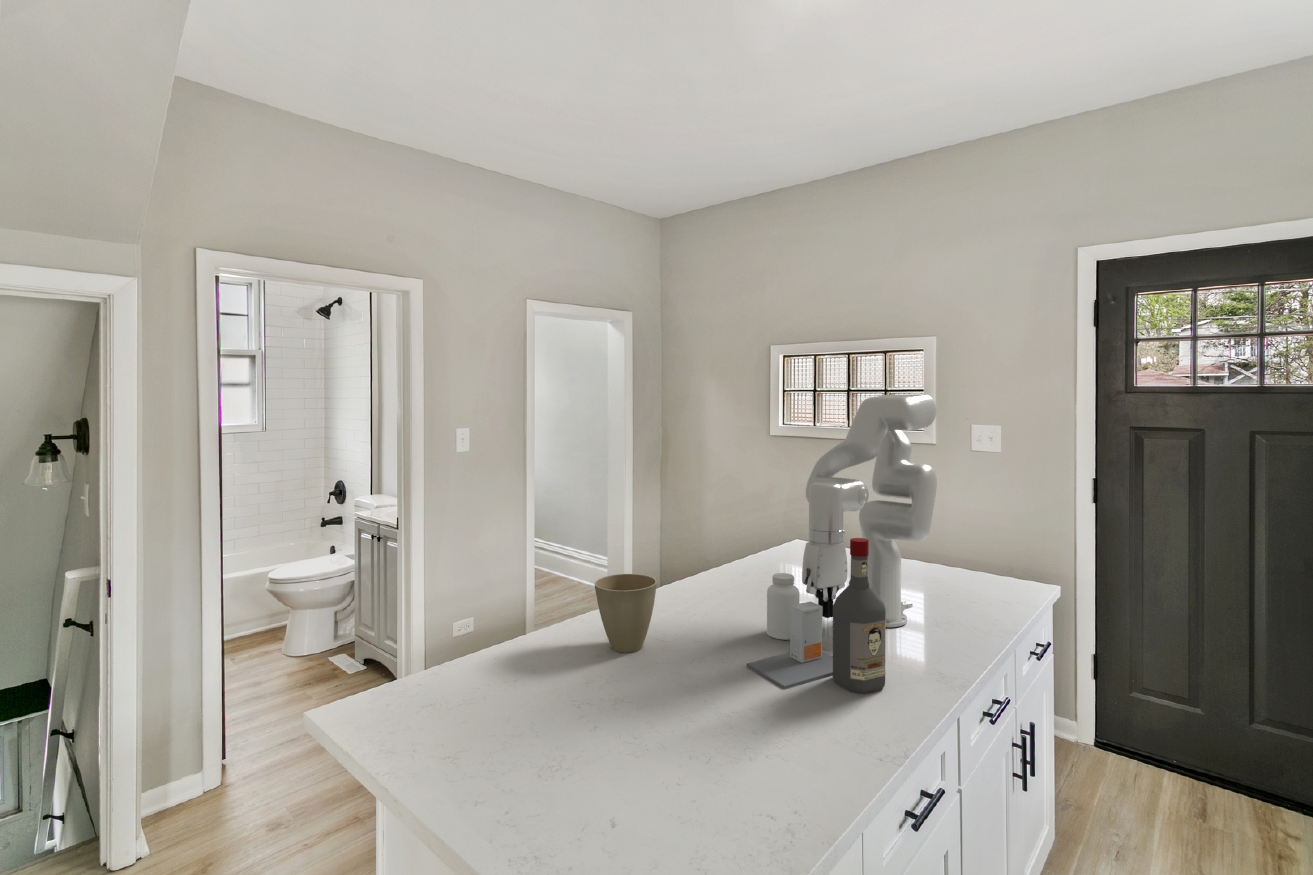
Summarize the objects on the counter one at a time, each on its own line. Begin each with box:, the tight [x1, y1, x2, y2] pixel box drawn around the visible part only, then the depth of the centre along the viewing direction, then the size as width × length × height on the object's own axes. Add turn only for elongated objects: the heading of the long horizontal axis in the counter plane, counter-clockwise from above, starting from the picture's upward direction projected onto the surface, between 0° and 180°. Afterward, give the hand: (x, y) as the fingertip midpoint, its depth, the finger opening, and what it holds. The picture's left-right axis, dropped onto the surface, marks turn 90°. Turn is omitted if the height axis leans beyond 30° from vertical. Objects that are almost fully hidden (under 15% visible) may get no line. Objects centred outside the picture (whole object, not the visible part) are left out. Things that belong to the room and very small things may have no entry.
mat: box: [746, 650, 833, 690], centre depth 140 cm, size 19×13×1 cm
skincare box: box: [789, 601, 823, 663], centre depth 144 cm, size 6×4×12 cm
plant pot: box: [594, 573, 658, 653], centre depth 153 cm, size 15×15×16 cm
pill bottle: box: [766, 572, 800, 641], centre depth 159 cm, size 8×8×15 cm
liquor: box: [832, 537, 887, 694], centre depth 131 cm, size 9×9×30 cm
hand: (825, 615), depth 146 cm, fingers closed
